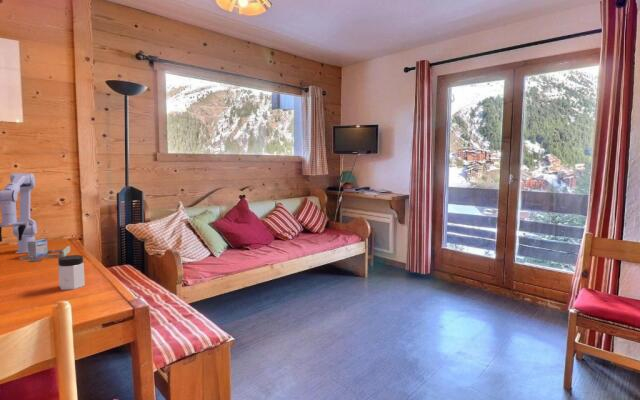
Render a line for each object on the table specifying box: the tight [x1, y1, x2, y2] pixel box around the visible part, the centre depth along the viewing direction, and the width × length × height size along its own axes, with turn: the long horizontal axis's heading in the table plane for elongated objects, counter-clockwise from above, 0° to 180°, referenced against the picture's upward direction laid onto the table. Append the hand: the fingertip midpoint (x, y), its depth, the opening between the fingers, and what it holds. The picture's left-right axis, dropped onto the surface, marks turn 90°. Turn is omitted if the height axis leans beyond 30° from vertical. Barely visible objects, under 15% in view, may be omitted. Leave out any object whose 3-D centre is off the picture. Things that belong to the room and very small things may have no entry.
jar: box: [57, 254, 86, 291], centre depth 145 cm, size 9×8×12 cm
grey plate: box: [27, 248, 63, 263], centre depth 196 cm, size 28×7×1 cm, turn 8°
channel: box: [19, 245, 71, 261], centre depth 196 cm, size 14×19×3 cm
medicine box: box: [27, 238, 49, 259], centre depth 194 cm, size 8×4×9 cm, turn 179°
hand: (10, 241), depth 182 cm, fingers open, 7 cm apart
